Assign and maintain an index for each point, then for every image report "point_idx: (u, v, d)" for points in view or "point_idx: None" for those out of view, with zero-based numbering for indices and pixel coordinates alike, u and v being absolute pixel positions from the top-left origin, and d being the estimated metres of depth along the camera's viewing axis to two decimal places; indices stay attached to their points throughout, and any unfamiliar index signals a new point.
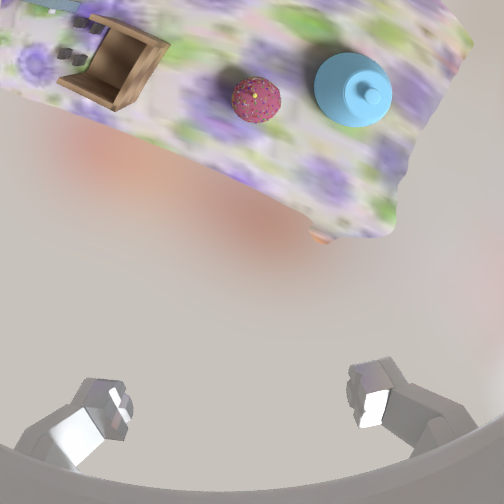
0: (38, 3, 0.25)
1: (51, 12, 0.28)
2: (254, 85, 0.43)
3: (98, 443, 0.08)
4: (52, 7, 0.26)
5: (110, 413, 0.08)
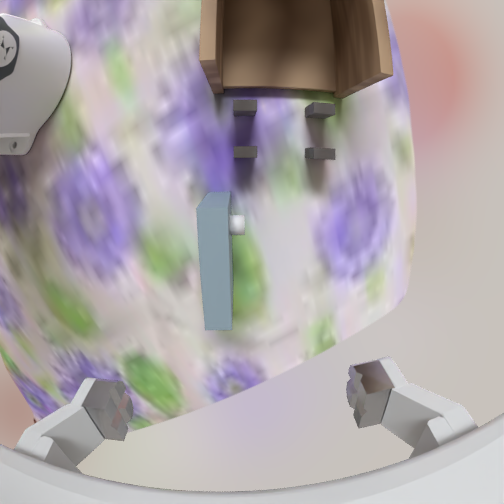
0: (225, 264, 0.22)
1: (240, 220, 0.23)
2: None
3: (98, 443, 0.08)
4: (223, 210, 0.21)
5: (110, 413, 0.08)
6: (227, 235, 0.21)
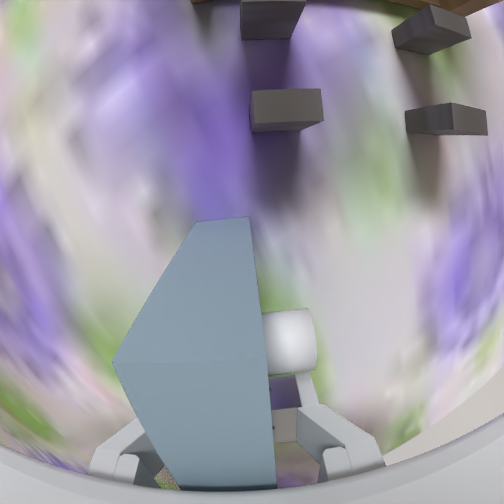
0: None
1: (303, 339, 0.06)
2: None
3: None
4: (247, 370, 0.04)
5: None
6: (269, 441, 0.04)
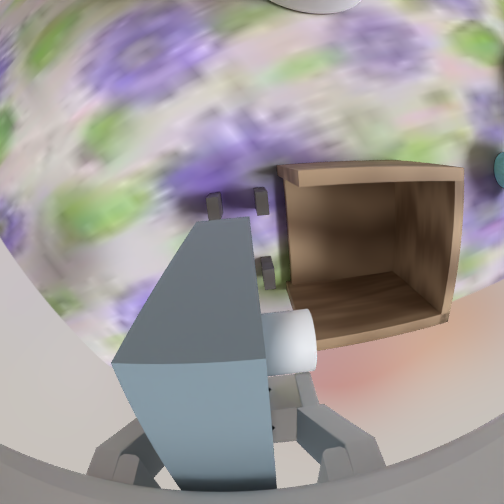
0: None
1: (303, 340, 0.06)
2: None
3: None
4: (247, 372, 0.04)
5: None
6: (269, 442, 0.04)
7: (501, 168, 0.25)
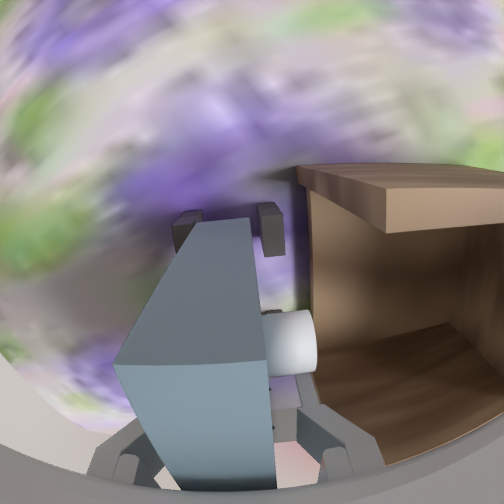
0: None
1: (303, 340, 0.06)
2: None
3: None
4: (247, 373, 0.04)
5: None
6: (269, 443, 0.04)
7: None
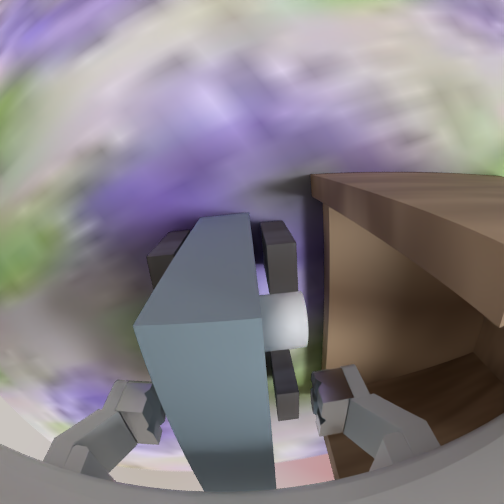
0: (263, 458, 0.06)
1: (296, 317, 0.07)
2: None
3: (131, 448, 0.08)
4: (246, 330, 0.05)
5: (147, 416, 0.08)
6: (265, 402, 0.05)
7: None
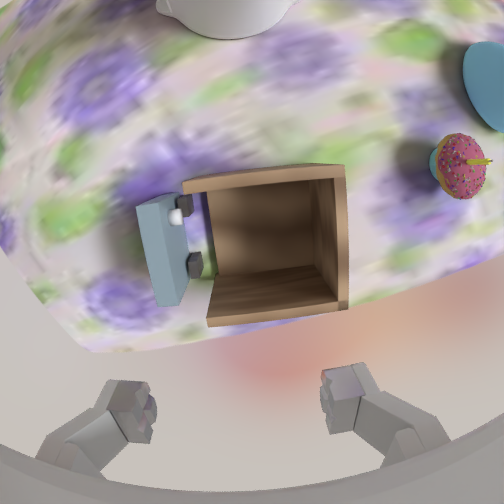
0: (163, 249, 0.26)
1: (176, 213, 0.28)
2: (459, 149, 0.26)
3: (122, 447, 0.08)
4: (155, 205, 0.25)
5: (137, 416, 0.08)
6: (161, 225, 0.26)
7: (434, 162, 0.31)
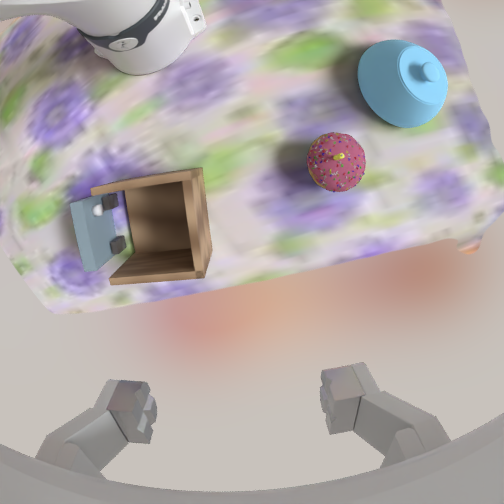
0: (86, 231, 0.36)
1: (97, 207, 0.37)
2: (326, 147, 0.36)
3: (122, 447, 0.08)
4: (80, 202, 0.35)
5: (137, 416, 0.08)
6: (84, 215, 0.35)
7: None
